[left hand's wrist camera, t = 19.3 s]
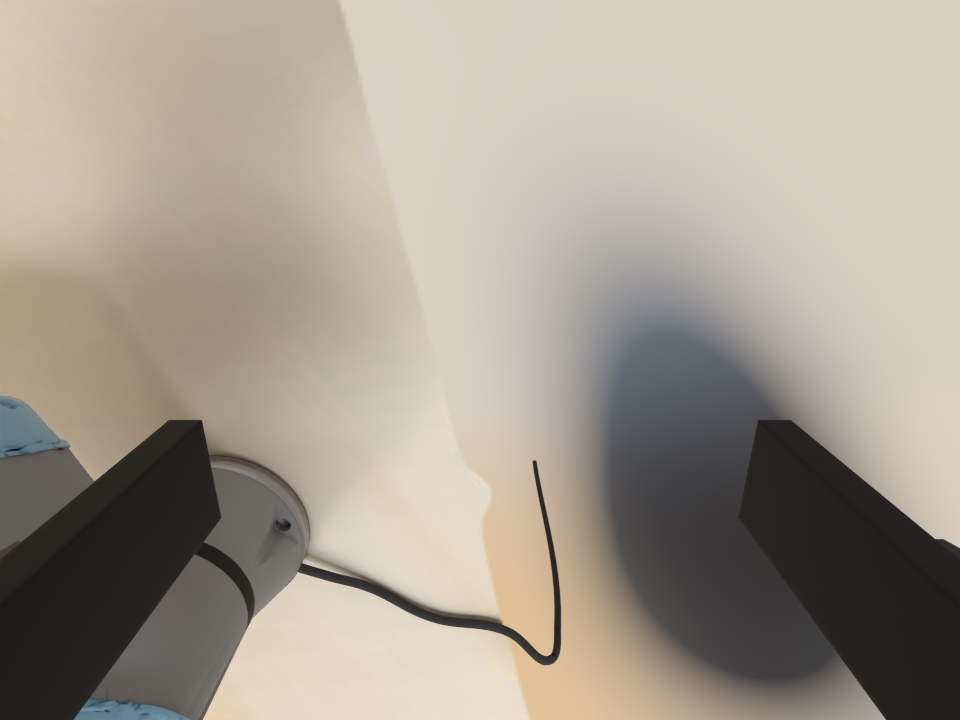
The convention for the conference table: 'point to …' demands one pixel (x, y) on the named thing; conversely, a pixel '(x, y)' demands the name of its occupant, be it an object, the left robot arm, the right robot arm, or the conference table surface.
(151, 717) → the left robot arm
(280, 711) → the conference table surface
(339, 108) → the conference table surface
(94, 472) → the conference table surface
